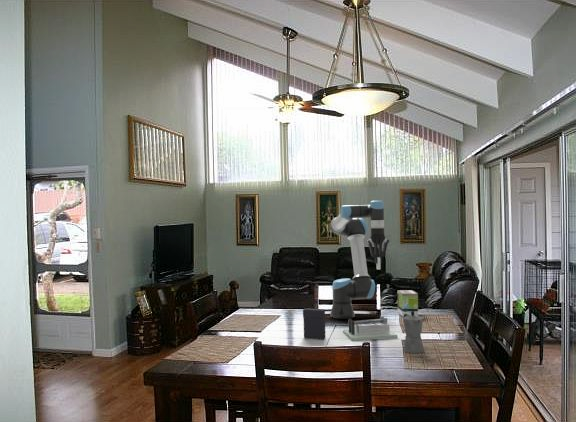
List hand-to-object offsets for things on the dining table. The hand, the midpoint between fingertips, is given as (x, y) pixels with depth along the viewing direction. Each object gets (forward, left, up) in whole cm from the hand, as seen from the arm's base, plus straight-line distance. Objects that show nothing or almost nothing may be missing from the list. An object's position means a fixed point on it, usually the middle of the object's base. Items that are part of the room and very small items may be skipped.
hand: (378, 269), depth 278 cm
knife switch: (+10, -21, -31) cm, 38 cm away
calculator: (-5, -45, -33) cm, 56 cm away
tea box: (-10, +38, -33) cm, 51 cm away
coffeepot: (+43, -27, -33) cm, 60 cm away
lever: (+10, -20, -26) cm, 34 cm away
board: (+10, -20, -32) cm, 39 cm away
